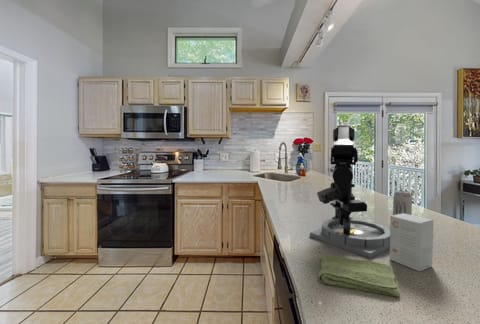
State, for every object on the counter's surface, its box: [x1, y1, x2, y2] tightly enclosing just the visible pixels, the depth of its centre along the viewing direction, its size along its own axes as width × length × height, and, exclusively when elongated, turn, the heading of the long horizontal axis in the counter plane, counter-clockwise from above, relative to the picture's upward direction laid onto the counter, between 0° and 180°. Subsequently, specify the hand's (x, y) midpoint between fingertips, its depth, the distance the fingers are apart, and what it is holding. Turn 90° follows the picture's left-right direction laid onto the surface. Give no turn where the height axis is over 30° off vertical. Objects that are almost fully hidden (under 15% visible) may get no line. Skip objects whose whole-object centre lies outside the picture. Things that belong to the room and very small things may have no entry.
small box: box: [389, 213, 434, 272], centre depth 68 cm, size 8×6×13 cm
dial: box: [330, 217, 382, 237], centre depth 87 cm, size 17×17×7 cm
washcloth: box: [317, 254, 401, 297], centre depth 62 cm, size 13×18×3 cm
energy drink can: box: [392, 190, 413, 215], centre depth 95 cm, size 6×6×15 cm
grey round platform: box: [309, 218, 390, 259], centre depth 87 cm, size 22×22×4 cm
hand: (342, 225), depth 85 cm, fingers closed
